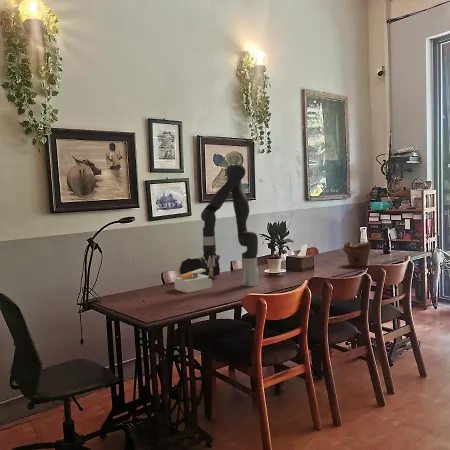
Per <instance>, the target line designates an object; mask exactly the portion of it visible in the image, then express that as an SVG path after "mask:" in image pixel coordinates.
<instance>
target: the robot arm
mask: <svg viewBox="0 0 450 450" xmlns="http://www.w3.org/2000/svg"><path fill="white" fill-rule="evenodd" d="M225 173H226V178H227V181H225V183H224V184H223V185H222V186H221V187H220V188H219V189H218V190H217V191H216V193H215V194H214V195H213V197H212V199H211V200H210V201H209V203H208V204H207V205H206V206H205V208H203V210H202V211H201V213H200V220H202V221H203V222H204V223H203V224H204V225H203V228H202V252H203V256H200V257H198V258H199V259H200V261H201V263H202V266H204V267H206V273H207V274H209V263H210V258H212V261H213V273H214V272H215V265H217V264H218V262H219V261H220V258H221V256H220V254H219V255H218V254H217V253H216V252H217V249H216V248H217V247H216V245H217V244H216V236H215V235H216V231H215V227H216V219H217V217H216V212H217V211H218V210H220V209H221V207H222V206H223V205H224V203H225V202H226V200H227V199H228V197H229V196H230V194H231V197H232V198H231V199H232V204H233V209H234V215H235V221H236V229H237V240H238V243H239V245H240V246H242V247H246V251H245V252H242V253H241V267H242V268H241V269H242V270H241V271H242V286H243V287H256V286H258V285H260V277H259V275H260V274H259V273H260V271H259V269H258V252H259V239H258V235H257V233H256V232H254V231H248V227H247V220H248V217H249V214H250V203H249V200H248V197H247V195H246V193H245V191H244V190H243V187H242V183H241V181H242V180H243V179H244V178H245V176H246V168H245V167H244V166H243V165H241V164H231V165H230V164H229V165H228V167H226V172H225ZM214 258H215V259H214ZM204 259H205V261H204ZM207 261H208V262H207Z"/></svg>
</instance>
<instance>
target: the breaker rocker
mask: <svg viewBox="0 0 450 450" xmlns="http://www.w3.org/2000/svg"><path fill="white" fill-rule="evenodd" d="M202 272H205V269H198V270H195V271H192V272H188V273H185V274H182V275H181V274H180V275H179V276H178V277H180V278H187V277H190V276H193V275H194V274H193V273H198V274H199V273H202Z"/></svg>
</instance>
